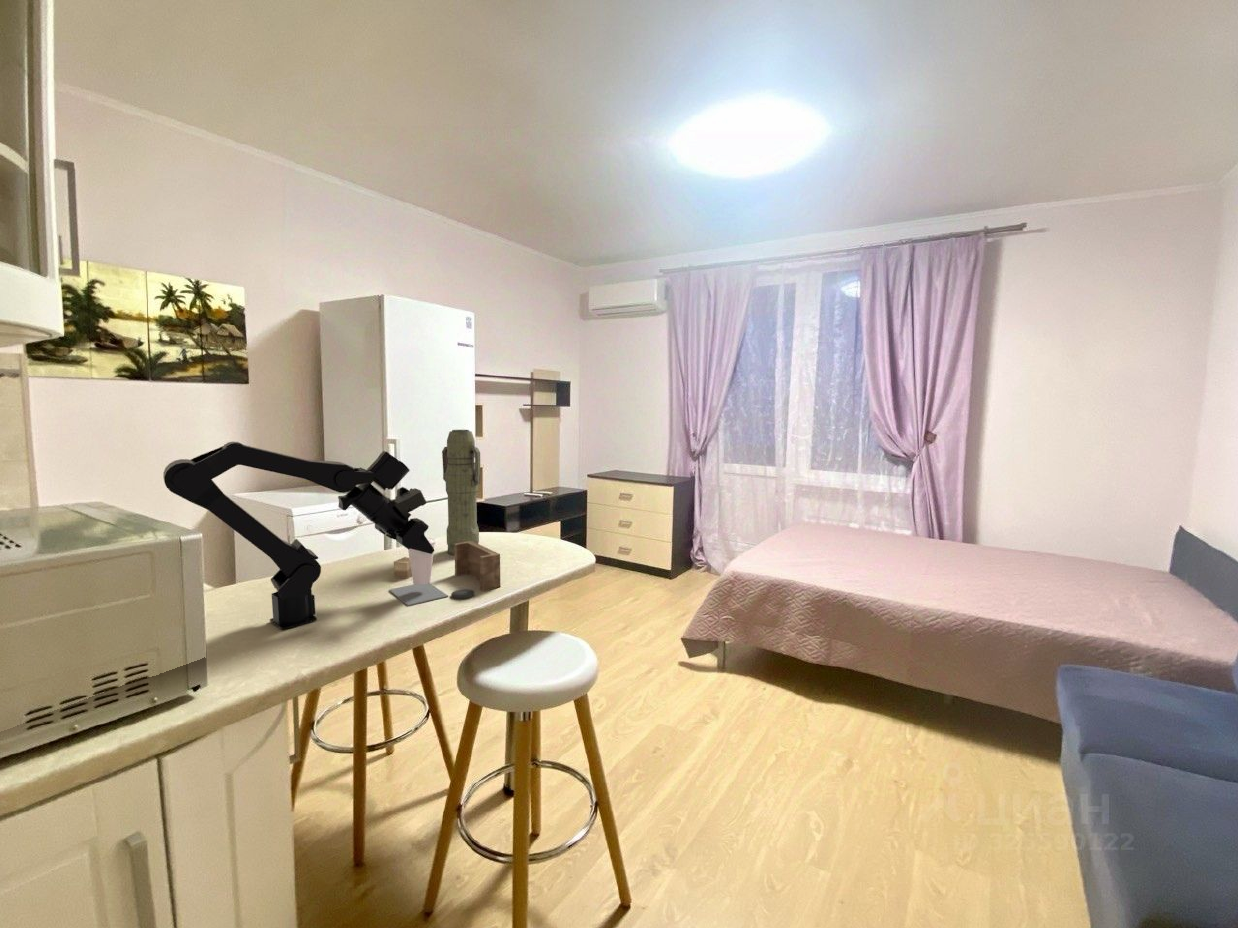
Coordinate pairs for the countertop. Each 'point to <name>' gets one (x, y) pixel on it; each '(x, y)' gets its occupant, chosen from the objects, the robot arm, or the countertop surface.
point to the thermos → (461, 487)
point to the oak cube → (402, 568)
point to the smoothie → (421, 564)
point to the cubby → (478, 563)
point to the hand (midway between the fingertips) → (427, 548)
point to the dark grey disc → (462, 594)
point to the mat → (417, 593)
